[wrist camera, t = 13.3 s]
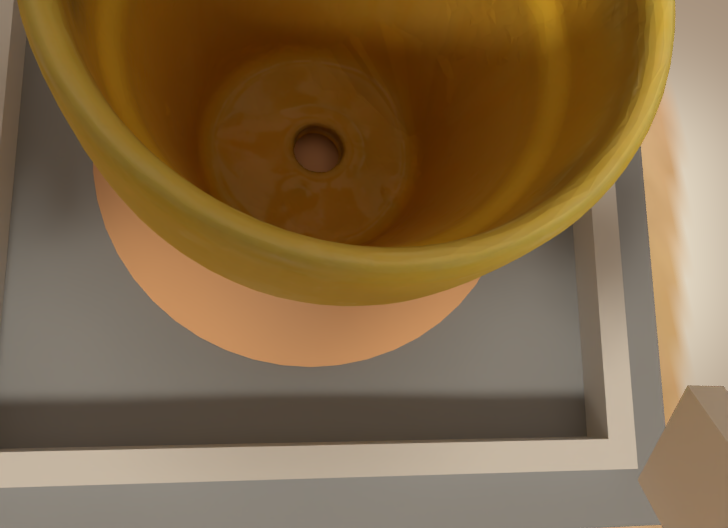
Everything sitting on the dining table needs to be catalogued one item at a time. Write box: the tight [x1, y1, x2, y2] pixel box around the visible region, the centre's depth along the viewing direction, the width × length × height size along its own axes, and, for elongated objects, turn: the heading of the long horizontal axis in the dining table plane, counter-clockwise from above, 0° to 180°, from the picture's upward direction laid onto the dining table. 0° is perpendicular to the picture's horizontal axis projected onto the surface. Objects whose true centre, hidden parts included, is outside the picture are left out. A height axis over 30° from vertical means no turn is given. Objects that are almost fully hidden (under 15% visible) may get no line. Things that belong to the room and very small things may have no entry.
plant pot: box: [17, 0, 675, 306], centre depth 15 cm, size 10×10×10 cm
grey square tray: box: [0, 0, 665, 528], centre depth 22 cm, size 21×21×6 cm
